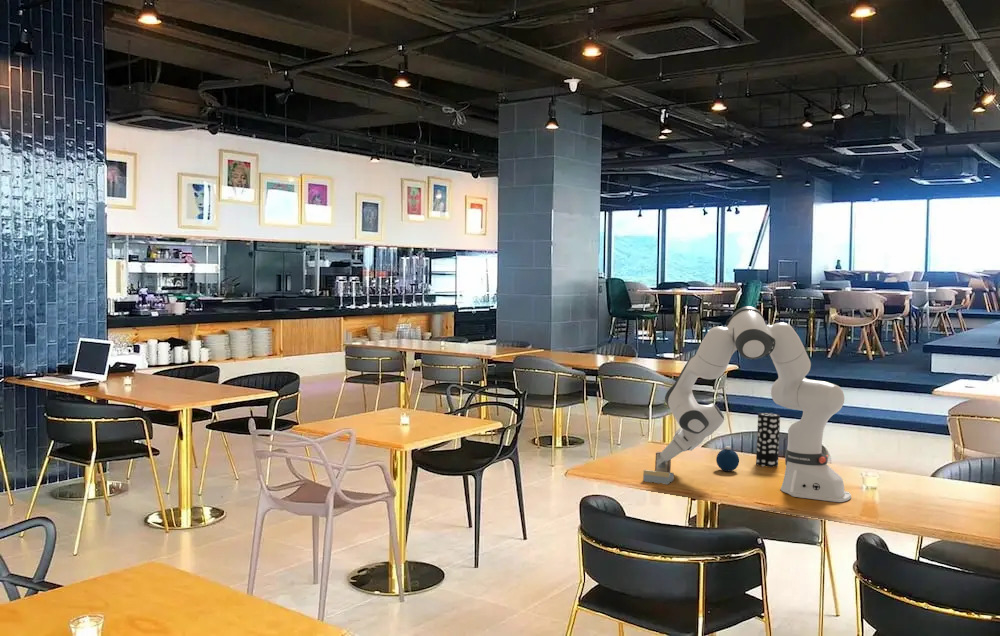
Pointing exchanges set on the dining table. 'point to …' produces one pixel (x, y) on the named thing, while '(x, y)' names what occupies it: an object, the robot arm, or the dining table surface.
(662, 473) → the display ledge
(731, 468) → the christmas ornament
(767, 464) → the spotted tube
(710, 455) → the dining table surface
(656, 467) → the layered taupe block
